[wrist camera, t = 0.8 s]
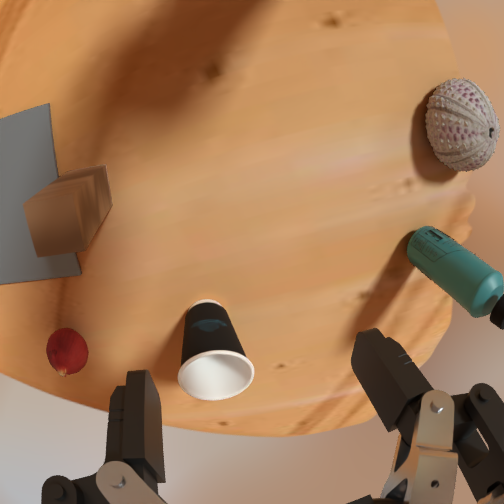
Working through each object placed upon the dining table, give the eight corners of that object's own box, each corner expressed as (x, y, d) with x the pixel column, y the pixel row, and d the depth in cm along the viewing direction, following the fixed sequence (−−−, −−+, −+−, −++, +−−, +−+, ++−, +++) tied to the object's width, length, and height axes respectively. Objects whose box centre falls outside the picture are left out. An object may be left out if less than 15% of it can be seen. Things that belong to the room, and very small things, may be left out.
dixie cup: (212, 277, 37) (225, 339, 28) (247, 316, 41) (268, 378, 31) (162, 311, 38) (161, 376, 28) (200, 345, 42) (209, 409, 32)
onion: (59, 345, 37) (46, 386, 30) (50, 314, 35) (33, 355, 28) (95, 349, 38) (86, 392, 31) (89, 317, 36) (76, 361, 29)
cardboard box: (68, 171, 28) (22, 204, 18) (106, 163, 28) (72, 194, 19) (75, 210, 30) (37, 257, 20) (112, 204, 31) (85, 251, 21)
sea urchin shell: (411, 76, 30) (456, 79, 23) (472, 77, 31) (512, 82, 24) (420, 173, 37) (461, 191, 30) (477, 159, 38) (514, 173, 31)
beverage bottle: (401, 266, 43) (489, 351, 26) (396, 230, 40) (500, 312, 23) (432, 248, 43) (521, 321, 26) (429, 212, 40) (532, 281, 23)
